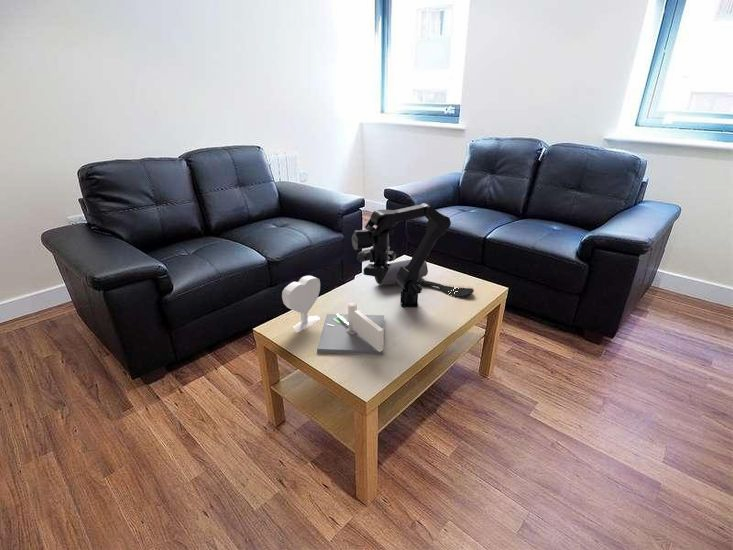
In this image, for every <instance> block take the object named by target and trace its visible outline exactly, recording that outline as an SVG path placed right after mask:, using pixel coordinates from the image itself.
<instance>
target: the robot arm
mask: <svg viewBox="0 0 733 550" xmlns="http://www.w3.org/2000/svg"><path fill="white" fill-rule="evenodd" d="M422 217H425V218H426V219H427V220H428V221H427V222H426V229H425V234H424V236H423V238H422V239H421V242H420V243H419V245H418V246H417V248H416V250H415V252H414V253H413V255H412V258H410V260H411V261H410V263H409V264H408V265H407V266H406V267H403V266H401V267H400V270H399V272H398V273H397V274H396V275H397V277H396V280H397V283H398V286H400V287H401V288H402V289H401V290H400V298H399V299H400V304H401V307H402V308H403V307H404V308H407V307H408V308H409V307H410V308H411V307H412V308H418V307H419V301H418V299H419V294H421V293H422V290H423V288H422V286H419V285H418V284H417V283H418V282H419V280H420V278H419V271H420V269H421V267H422V265H423V263H424V262H425V261H426V260H427V258H428V256H429V255H430V254H431V253H430V252H431V250H433V248H434V245H435V244H436V242H437V240H438V239H439V238H441V237H442V236H444V234H445V235H446V232H448V230H449V229H450V227H451V224H452V223H451V219H450V217H449V216H447V215H445V214H443V213H441V212H439V211H437V209H435V208H434V207H433V206H432V205H430V204H429V203H426V202H422V203H421V204H415V205H412V206H408V207H403V208H399V209H375V210H374V211H373V212H372V213H371V215H370V218H369V220H368V221H367V222H366V224H365V226H364V229H360V230H359V229H357V230H353V234H352V237H351V244H352V248H353V249H354V250H355V251H357V250H361V251H360V252H358V253H357V256H356V257H357V258H356V260H357V261H358V262H360V263H364V262H368V261H369V263H368V264H367V265H366V266H364V268H363V270H362V271H363V275H364V276H370V277H374V278H375V277H377V280H378V283H379V284H381V283H382V281H383V279H384V277H385V275H386V273H387V271H388V269H389V267H390V266H391V264H389V263H388V262H389V261H390V259H391V261H393V262H394V261H395V260H396V257H397V253H395V251H393V250H391V246H389V234H394V233H395V230H393V229H392V228H393V227H394V226H396V225H397V224H398V223H401V222H406V221H410V220H414V219H418V218H422ZM374 226H375V227H374ZM362 249H364V250H362ZM378 283H377V284H378ZM379 284H378V285H379Z"/></svg>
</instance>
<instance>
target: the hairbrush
mask: <svg viewBox="0 0 733 550" xmlns="http://www.w3.org/2000/svg"><path fill="white" fill-rule="evenodd" d="M418 284H419V285H421V286H420V287H425V286H426V287H428V286H429V287H435V288H436V287H437V288H439V289H440V290H441V291H442V292H443V293H444V292H445V293H446V294H445V293H444V294H445V295H447V294H449V293H450V292H451V293H450V294H449V295H448V296H450V295H452V296H451V297H453V296H455V297H454V298H457V297H461V298H465V297H466V298H467V297H469V296H471V295H472V294H473V293H474V291H475V290H474V288H473V287H470V286H464V287H463V286H462V285H461V286H460V285H455V286H454V285H452V286H451V285H450V284H447V285H445V284H441V283H438V282H434V281H429V280H424V281H418V282H417V285H418ZM454 287H458V288H459V289H458V288H456V289H454ZM453 289H454V291H453ZM451 290H452V291H451ZM448 291H449V292H448ZM455 291H458V292H455ZM454 292H455V294H454Z"/></svg>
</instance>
